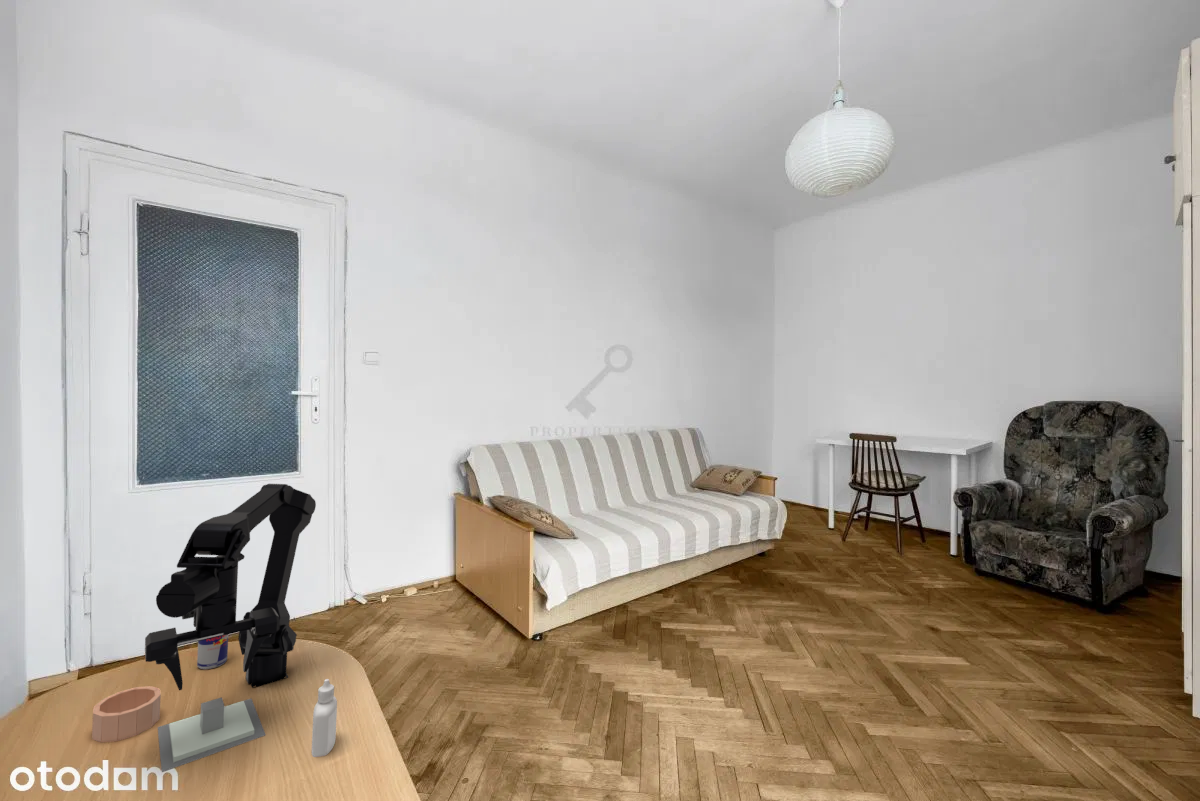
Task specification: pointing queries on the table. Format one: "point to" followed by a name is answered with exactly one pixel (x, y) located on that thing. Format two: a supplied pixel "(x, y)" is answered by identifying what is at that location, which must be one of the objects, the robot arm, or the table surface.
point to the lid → (209, 728)
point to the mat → (168, 757)
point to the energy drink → (212, 652)
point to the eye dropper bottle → (324, 721)
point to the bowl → (126, 714)
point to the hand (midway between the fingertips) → (213, 679)
